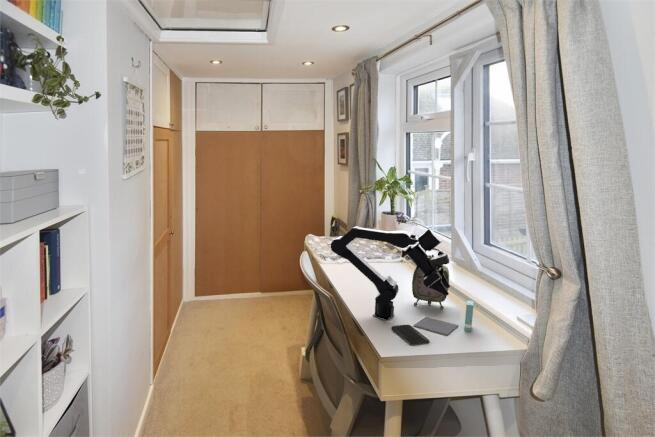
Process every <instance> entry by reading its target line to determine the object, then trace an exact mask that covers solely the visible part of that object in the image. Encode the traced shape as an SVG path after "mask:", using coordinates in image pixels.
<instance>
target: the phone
mask: <svg viewBox="0 0 655 437" xmlns="http://www.w3.org/2000/svg"><path fill="white" fill-rule="evenodd" d="M390 329H391V331H392V332H394V333H395V334H396V335H397V336H398V337H400V339H402V340H403V341H404V342H405V343H407V344H408V345H409V346H420V345H425V344H426V345H427V344H428V345H429V344H430V339H429V338H427V337H426V336H425V335H424V334H422V333H421V332H419V331H418V330H417V329H416V328H414V326H412V325H410V324H400V325H399V324H398V325H392V326H391V327H390Z"/></svg>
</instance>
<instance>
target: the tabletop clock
mask: <svg viewBox="0 0 655 437" xmlns="http://www.w3.org/2000/svg"><path fill="white" fill-rule="evenodd" d="M433 250H434V251H437V252H439V251H441V250H440V249H438V248H436V247H435V248H434V249H432V250H431V251H433ZM424 252H425V253H426V252H427V251H425V250H424ZM430 256H431V257H435V255H434V254H431V255H430ZM443 267H444V271H443V274H444V276H445V278H446V279H447V281H448V283H449V284H450V273H449V272H450V271H449V268H448V266H446V265H445V264H444V265H443ZM440 269H441V267H440ZM423 275H424V274H423V273H422V272H421V270H420V269H419V268H418V269H417V268H416V267H415V269H414V272H413V274H412V281H411V290H412V292H411V293H412V295H413V298H415V299H416V302H414V303H413V306H414V307H417V306H418V303H419V302H420V301H424V302H427V305H432V303H439V309H440V310H442V311H443V310H444V309H445V308H444V306H443V304H442V302H445V301H446V299H447V296H446V295H444V294H442V293H440V292H438V291H436V290H434V289H431V288H428V287H426V286H425V285H424V284H423V281H424V278H425V277H424V276H423ZM445 288H446V290H447V291H448V292H449V288H447V287H445Z"/></svg>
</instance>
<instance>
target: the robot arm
mask: <svg viewBox="0 0 655 437" xmlns="http://www.w3.org/2000/svg"><path fill="white" fill-rule="evenodd" d="M355 239H364V240H370V241H374V242H375V241H377V242H384V243H387V244H389V245H391V246H394V247H397V248H400V249H401V258H404V257H406V255H407V257H408V258H409V259H410V260H411V261H412V262H413V263H414V265H415V269H416V268H417V269H418V268H419V269H420V270H421V272H422V273H423V274H424V275H423V276H424V277H425V278H424V281H423V284H424V285H425V286H426V287H428V288H431V289H434V290H436V291H438V292H440V293H442V294H444V295H446V297H447V296H449V290H448V291H447V290H446V288H445V287H447V288H448V289H450V288H451V286H450V282H449V283H448V281H447V279H446V278H445V276H444V274H443V271H444V267H443V265H444V266H445V265H448V264H450V258H449V254H448V253H447V252H444V251H443V250H440V251H437V255H434V257H431V256H432V255H430V254H427V253H426V252H431V251H433V250H432V249H434V248H436V247H438V246H439V245H440V244H441V243H442V241H443V240H442V239H441V238H440V236H439V235H438V234H437V233H435V232H434V230H432V229H431V228H427V229H426V230H425V231H424V233H422V234H421V235H416V234H411V232H410V231H408V230H391V231H389V230H382V229H376V228H375V229H374V228H368V227H367V228H366V227H360V226H358V225H357V226H354V227H351V229H350V230H349V231H348V232H347V233H345V234H344V235H343V236H338V237H336V238H335V239H333V240H332V241H331V242H330V250H331V251H332V252H333V253H334V254H336V255H337V256H339V257H340V258H343V259H345V260H347V261H348V262H349V263H350V264H351V265H352V266H354V267H355V268H356V269H357V270H358V271H359V272H361V273H362V274H363V275H364V276H365V277H366V278H367V279H368V280H369V281H370V282H372V284H373V285H374V286H375V288H376V290H377V292H378V293H377V295H376V297H375V298H374V300H375V301H374V302H375V303H374V304H375V305H374V314H372V317H374V318H378V319H382V320H385V321H387V320H389V319H391V318H393V317H394V316H395V306H394V301H393V300H394V299H395V298H396V296H397V295H398V293H399V285H398V282H397V281H396V280H395V279H393V278H392V277H391V275H389V274H388V276H387V277H386V276H384V275H382V274H381V273H379V271H377V269H376V268H374V267H373V266H372V265H371V264H370V263H369V262H368V261H367V260H365V259H364V258H363V257H362V256H361V255H360V254H359V253H358V252H357V251H356V250H355V248H354V246H353V245H352V244H353V243H351V242H353V241H354V240H355ZM425 251H426V252H425ZM440 267H441V269H440Z"/></svg>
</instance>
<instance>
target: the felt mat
mask: <svg viewBox="0 0 655 437" xmlns="http://www.w3.org/2000/svg"><path fill="white" fill-rule="evenodd" d="M414 327H415V328H419V329H422V330H425V331H429V332H432V333H436V334H439V335H443V336H446V337H447V336H449V335H450V334H451V333H452V332H454V330H456V329H457V328H458V327H459V324H454V323H451V322H447V321H444V320H440V319H437V318H432V317H429V316H424V317H423V318H422V319H421V320H419V321H417V322H416V323H414V324H413V328H414Z"/></svg>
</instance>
